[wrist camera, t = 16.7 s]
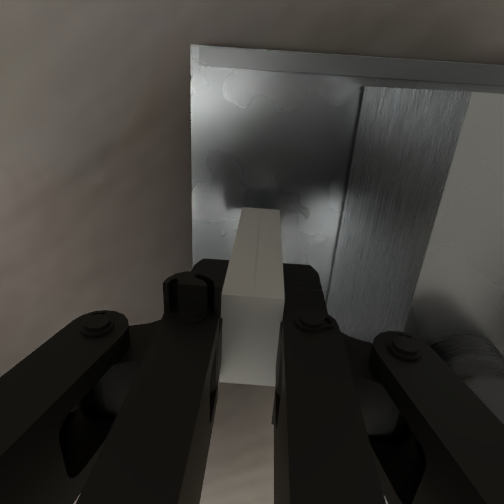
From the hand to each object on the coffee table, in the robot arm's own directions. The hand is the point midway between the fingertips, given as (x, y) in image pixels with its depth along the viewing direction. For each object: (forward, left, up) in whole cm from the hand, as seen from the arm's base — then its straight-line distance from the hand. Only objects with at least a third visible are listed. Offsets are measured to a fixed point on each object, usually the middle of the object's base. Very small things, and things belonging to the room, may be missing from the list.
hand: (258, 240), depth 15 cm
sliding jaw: (+5, 0, -1) cm, 5 cm away
